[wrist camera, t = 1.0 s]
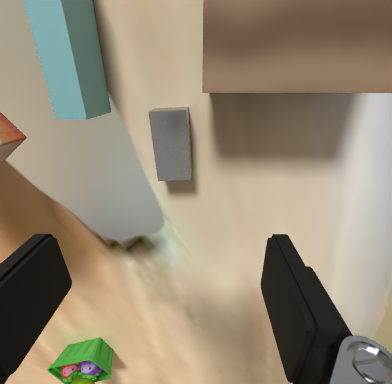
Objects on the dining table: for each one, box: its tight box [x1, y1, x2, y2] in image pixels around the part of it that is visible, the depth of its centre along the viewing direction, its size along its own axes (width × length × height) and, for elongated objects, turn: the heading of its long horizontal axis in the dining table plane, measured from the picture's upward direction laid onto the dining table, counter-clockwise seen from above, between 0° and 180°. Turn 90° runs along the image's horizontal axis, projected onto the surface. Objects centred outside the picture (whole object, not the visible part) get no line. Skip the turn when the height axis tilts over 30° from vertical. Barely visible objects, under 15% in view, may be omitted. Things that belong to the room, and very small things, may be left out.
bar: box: [149, 107, 192, 181], centre depth 26 cm, size 8×4×3 cm, turn 3°
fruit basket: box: [48, 338, 113, 384], centre depth 44 cm, size 11×9×11 cm
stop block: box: [23, 0, 111, 120], centre depth 20 cm, size 14×3×6 cm, turn 0°
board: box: [203, 0, 392, 93], centre depth 17 cm, size 9×15×4 cm, turn 90°
